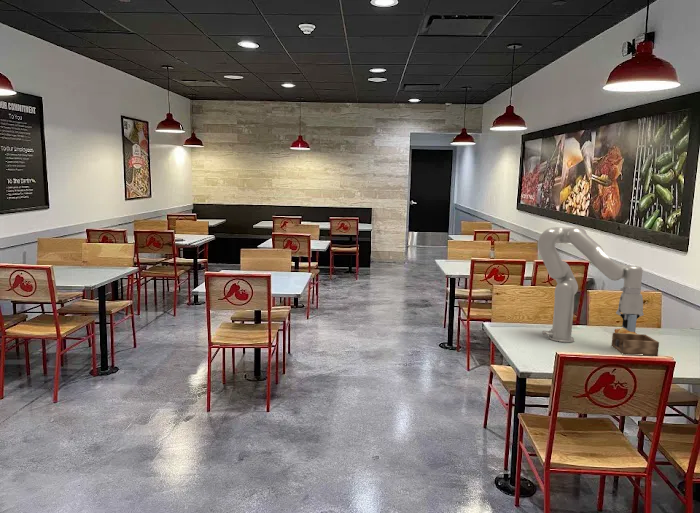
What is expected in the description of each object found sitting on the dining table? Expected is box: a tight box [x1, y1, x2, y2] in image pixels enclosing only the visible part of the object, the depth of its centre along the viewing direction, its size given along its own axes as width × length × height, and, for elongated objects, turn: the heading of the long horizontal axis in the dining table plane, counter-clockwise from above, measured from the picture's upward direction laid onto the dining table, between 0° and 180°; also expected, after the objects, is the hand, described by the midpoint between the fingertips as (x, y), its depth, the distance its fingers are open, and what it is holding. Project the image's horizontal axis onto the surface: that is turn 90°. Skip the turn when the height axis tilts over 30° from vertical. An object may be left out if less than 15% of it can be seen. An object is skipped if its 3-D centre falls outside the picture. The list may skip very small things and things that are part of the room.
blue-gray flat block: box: [621, 314, 638, 333], centre depth 257 cm, size 3×9×8 cm, turn 175°
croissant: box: [614, 327, 638, 334], centre depth 280 cm, size 21×10×8 cm, turn 5°
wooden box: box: [611, 332, 660, 357], centre depth 258 cm, size 16×14×7 cm
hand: (628, 327), depth 257 cm, fingers closed on blue-gray flat block, 2 cm apart
